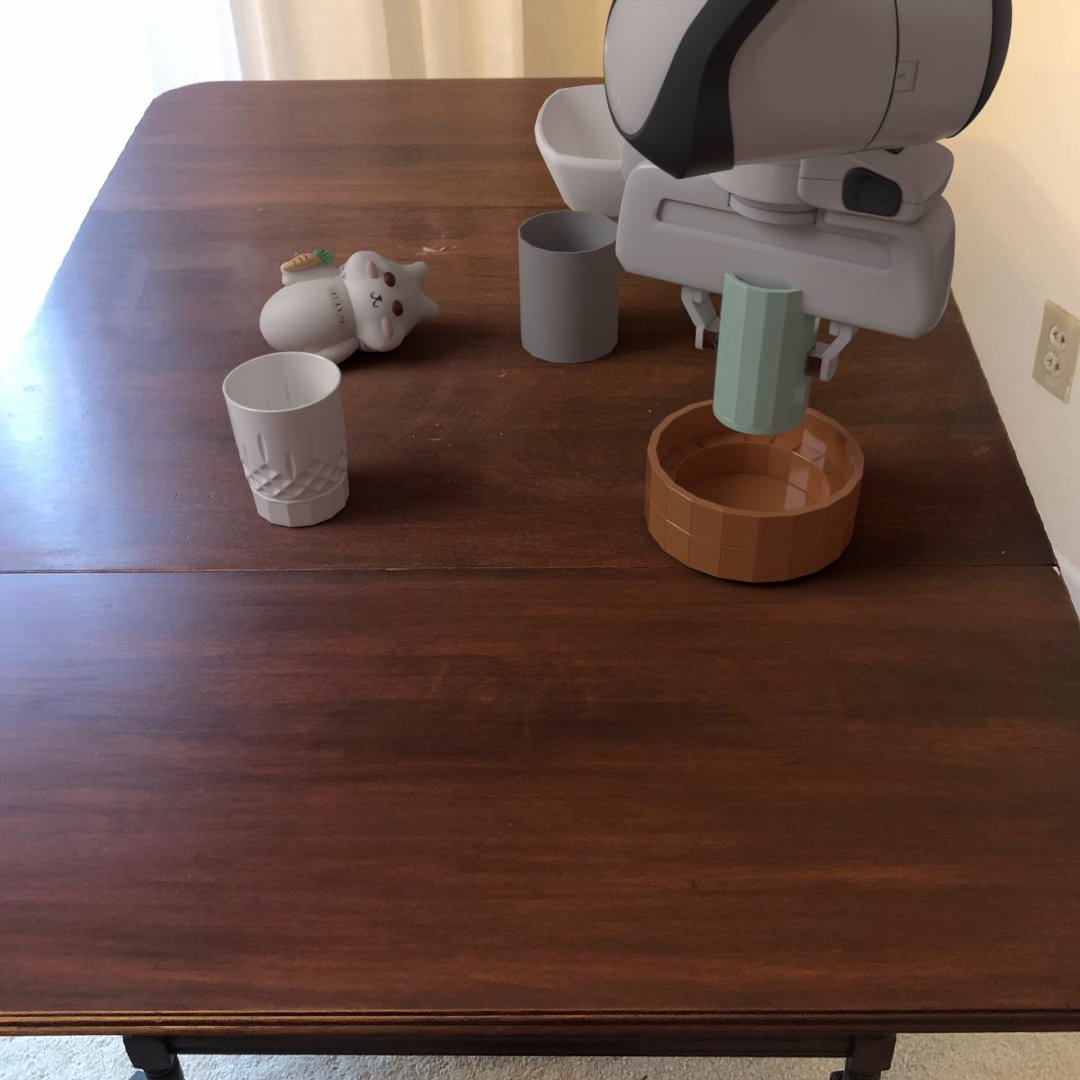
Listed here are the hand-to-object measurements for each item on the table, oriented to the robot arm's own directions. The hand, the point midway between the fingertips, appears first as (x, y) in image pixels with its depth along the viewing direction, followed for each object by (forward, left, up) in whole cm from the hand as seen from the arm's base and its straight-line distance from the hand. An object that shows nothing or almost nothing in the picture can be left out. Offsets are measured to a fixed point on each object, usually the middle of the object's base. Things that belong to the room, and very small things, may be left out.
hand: (765, 361), depth 77 cm
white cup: (+23, +22, -13) cm, 34 cm away
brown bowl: (0, 0, -13) cm, 13 cm away
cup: (+28, -8, -13) cm, 32 cm away
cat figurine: (+39, +7, -13) cm, 42 cm away
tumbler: (0, 0, -4) cm, 4 cm away
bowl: (+39, -28, -13) cm, 50 cm away
